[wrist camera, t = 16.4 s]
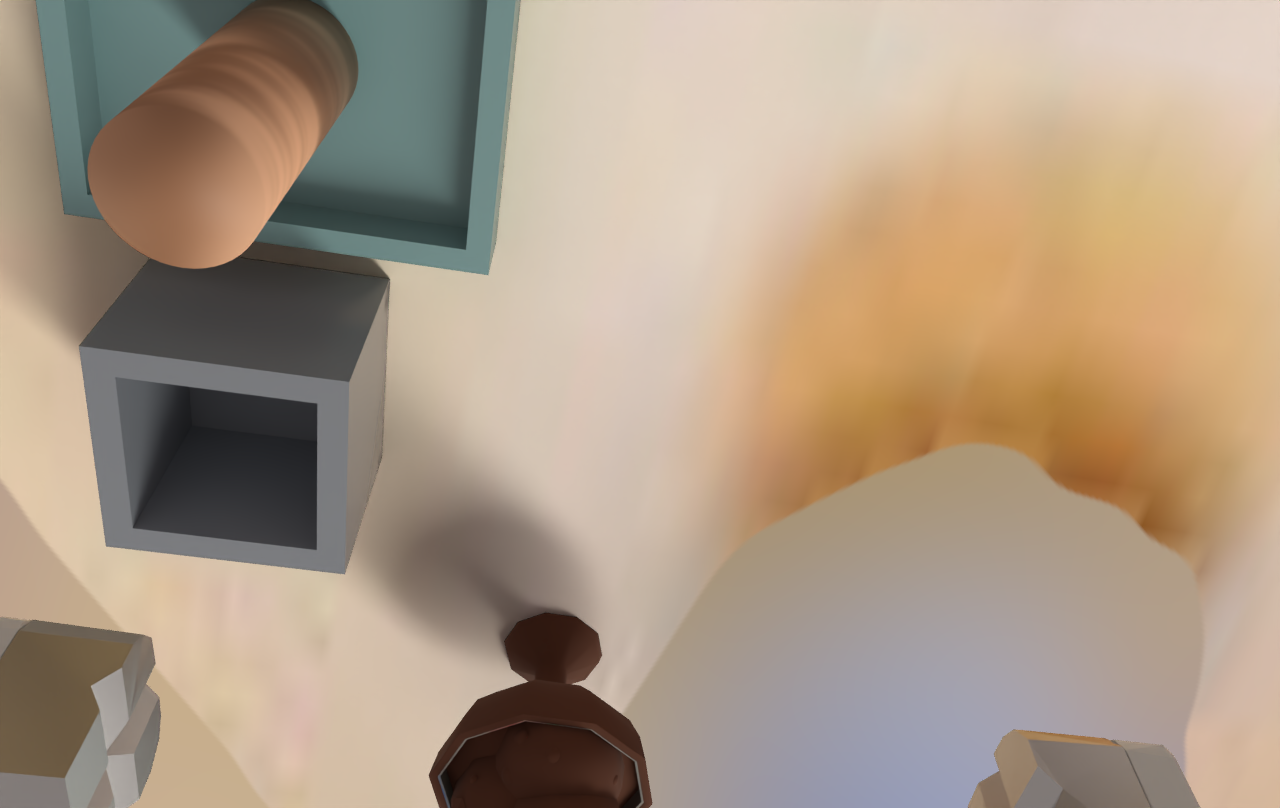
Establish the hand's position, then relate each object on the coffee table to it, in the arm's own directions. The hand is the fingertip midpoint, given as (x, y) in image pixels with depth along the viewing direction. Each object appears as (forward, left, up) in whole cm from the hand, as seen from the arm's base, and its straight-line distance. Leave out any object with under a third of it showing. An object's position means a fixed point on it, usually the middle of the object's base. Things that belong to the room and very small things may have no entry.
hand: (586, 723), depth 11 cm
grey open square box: (+13, +21, -37) cm, 44 cm away
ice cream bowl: (-2, +38, -37) cm, 53 cm away
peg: (+12, +6, -36) cm, 39 cm away
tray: (+12, +6, -37) cm, 39 cm away
